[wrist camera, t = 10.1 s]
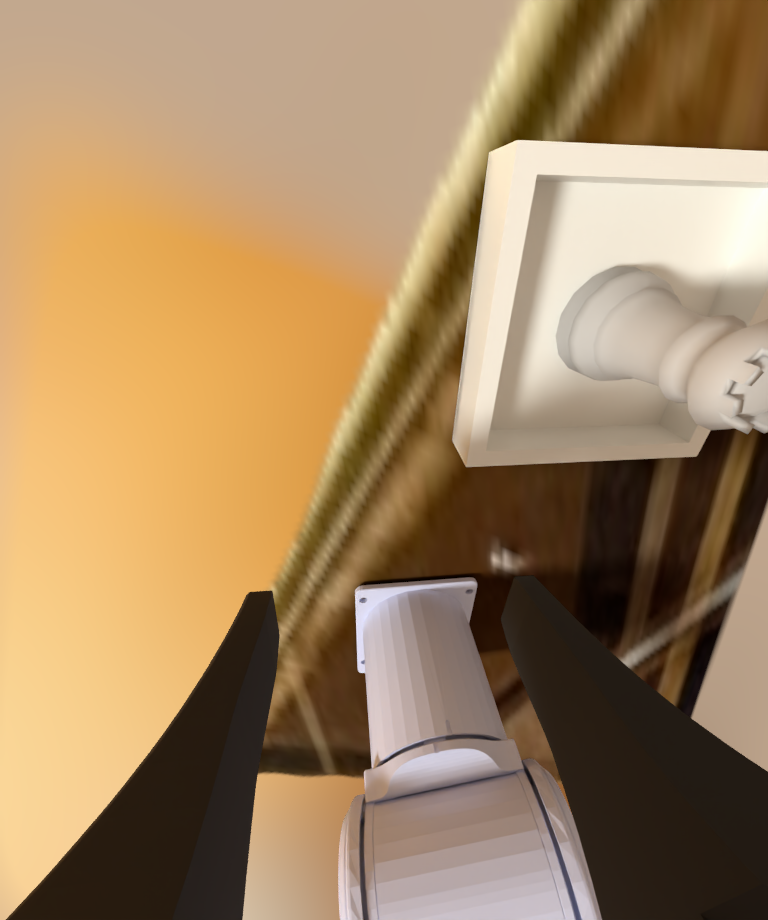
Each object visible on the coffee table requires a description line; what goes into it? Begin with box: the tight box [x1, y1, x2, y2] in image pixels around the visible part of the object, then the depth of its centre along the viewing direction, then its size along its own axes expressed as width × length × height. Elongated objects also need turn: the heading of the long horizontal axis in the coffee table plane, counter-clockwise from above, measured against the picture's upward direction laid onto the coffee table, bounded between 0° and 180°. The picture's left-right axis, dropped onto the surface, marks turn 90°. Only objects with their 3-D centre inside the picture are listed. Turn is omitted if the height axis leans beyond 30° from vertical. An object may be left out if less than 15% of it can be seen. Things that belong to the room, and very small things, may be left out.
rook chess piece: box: [556, 267, 768, 434], centre depth 13 cm, size 4×4×8 cm
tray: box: [452, 140, 768, 467], centre depth 16 cm, size 12×12×2 cm
